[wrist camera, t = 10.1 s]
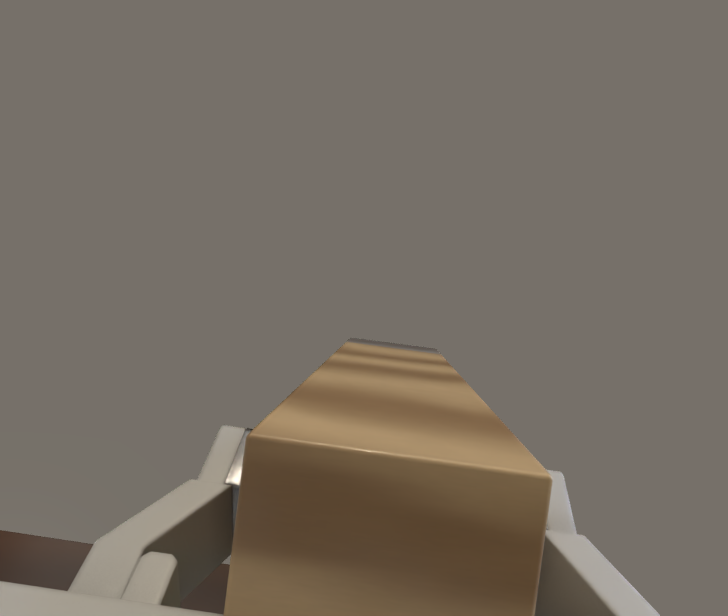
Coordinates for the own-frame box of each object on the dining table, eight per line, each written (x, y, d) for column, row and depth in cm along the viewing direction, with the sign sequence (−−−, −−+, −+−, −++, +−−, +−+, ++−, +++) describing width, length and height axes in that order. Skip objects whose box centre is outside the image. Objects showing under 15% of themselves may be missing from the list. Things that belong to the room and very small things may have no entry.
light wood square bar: (513, 784, 9) (554, 475, 8) (206, 735, 9) (245, 433, 9) (424, 430, 32) (435, 347, 31) (340, 419, 32) (351, 336, 32)
